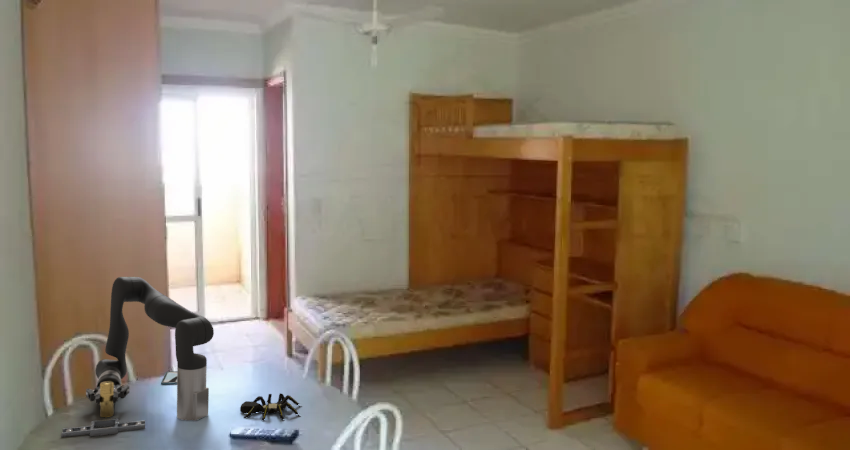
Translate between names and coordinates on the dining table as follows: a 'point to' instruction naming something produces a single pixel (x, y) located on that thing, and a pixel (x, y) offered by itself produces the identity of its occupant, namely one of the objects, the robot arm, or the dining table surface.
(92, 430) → the ball bearing track
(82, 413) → the dining table surface
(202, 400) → the robot arm
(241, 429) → the dining table surface
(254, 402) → the toy
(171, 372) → the smartphone
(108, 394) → the brass pin
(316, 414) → the dining table surface
